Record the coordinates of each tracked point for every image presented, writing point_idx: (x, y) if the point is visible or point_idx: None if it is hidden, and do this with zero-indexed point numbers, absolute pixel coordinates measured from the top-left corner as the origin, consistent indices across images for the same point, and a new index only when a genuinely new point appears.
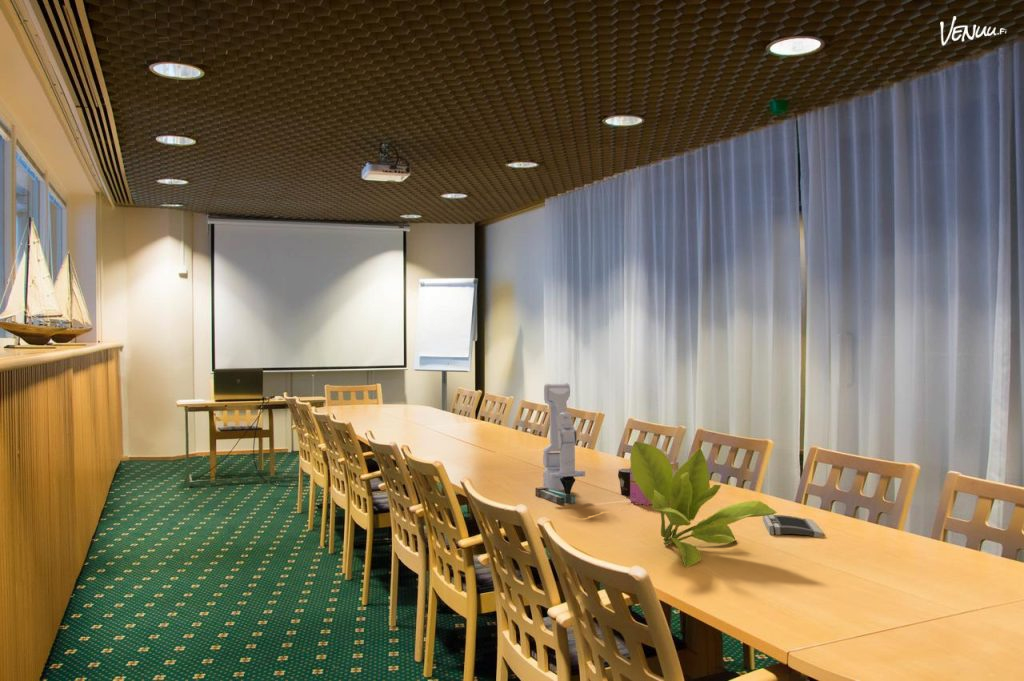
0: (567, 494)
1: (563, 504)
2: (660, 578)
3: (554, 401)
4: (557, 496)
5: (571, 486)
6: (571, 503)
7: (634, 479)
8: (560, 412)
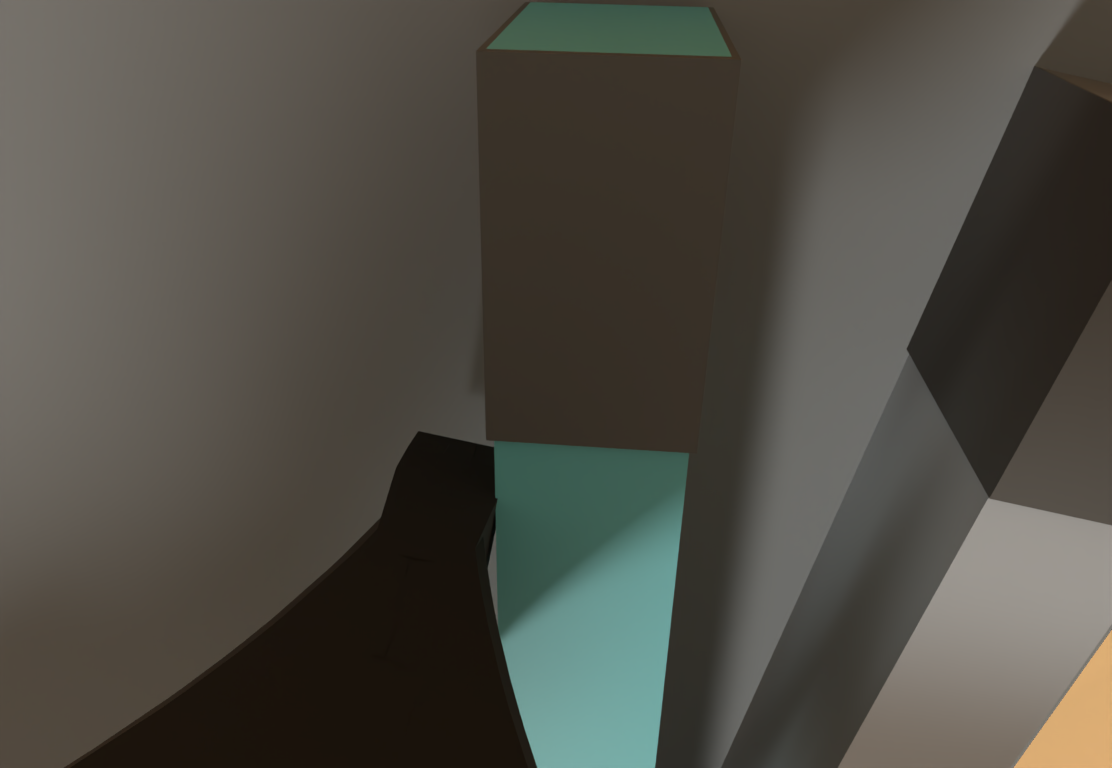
0: (541, 503)
1: (1079, 82)
2: None
3: None
4: None
5: (225, 718)
6: (700, 10)
7: None
8: None
